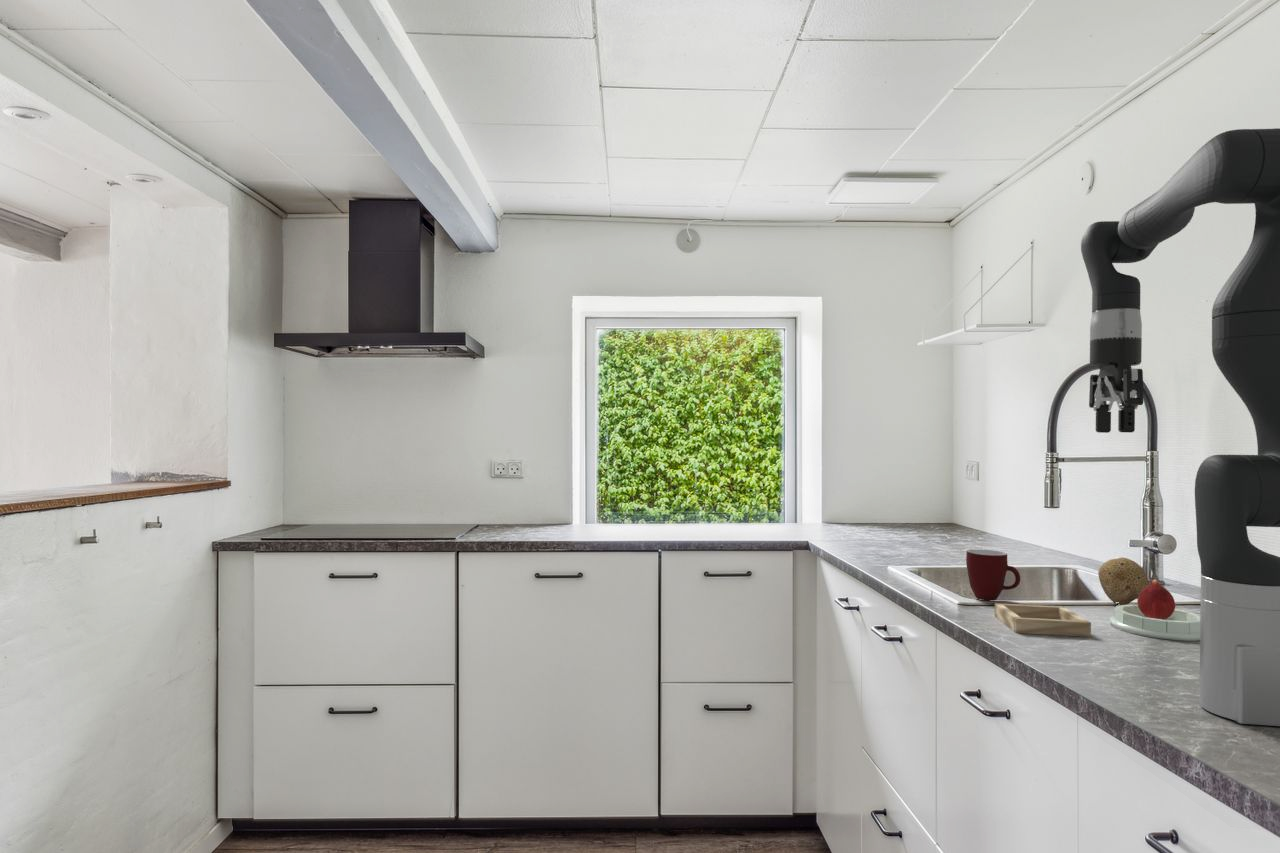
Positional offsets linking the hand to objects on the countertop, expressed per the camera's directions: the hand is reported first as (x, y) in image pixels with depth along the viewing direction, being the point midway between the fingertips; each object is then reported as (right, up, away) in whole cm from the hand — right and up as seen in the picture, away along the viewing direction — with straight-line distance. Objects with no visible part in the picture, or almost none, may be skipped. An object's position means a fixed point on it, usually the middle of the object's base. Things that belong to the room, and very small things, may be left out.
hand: (1114, 432), depth 129 cm
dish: (+14, -36, +10) cm, 40 cm away
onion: (+14, -36, +10) cm, 40 cm away
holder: (-7, -36, +11) cm, 38 cm away
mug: (-5, -36, +33) cm, 49 cm away
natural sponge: (+20, -37, +29) cm, 51 cm away
